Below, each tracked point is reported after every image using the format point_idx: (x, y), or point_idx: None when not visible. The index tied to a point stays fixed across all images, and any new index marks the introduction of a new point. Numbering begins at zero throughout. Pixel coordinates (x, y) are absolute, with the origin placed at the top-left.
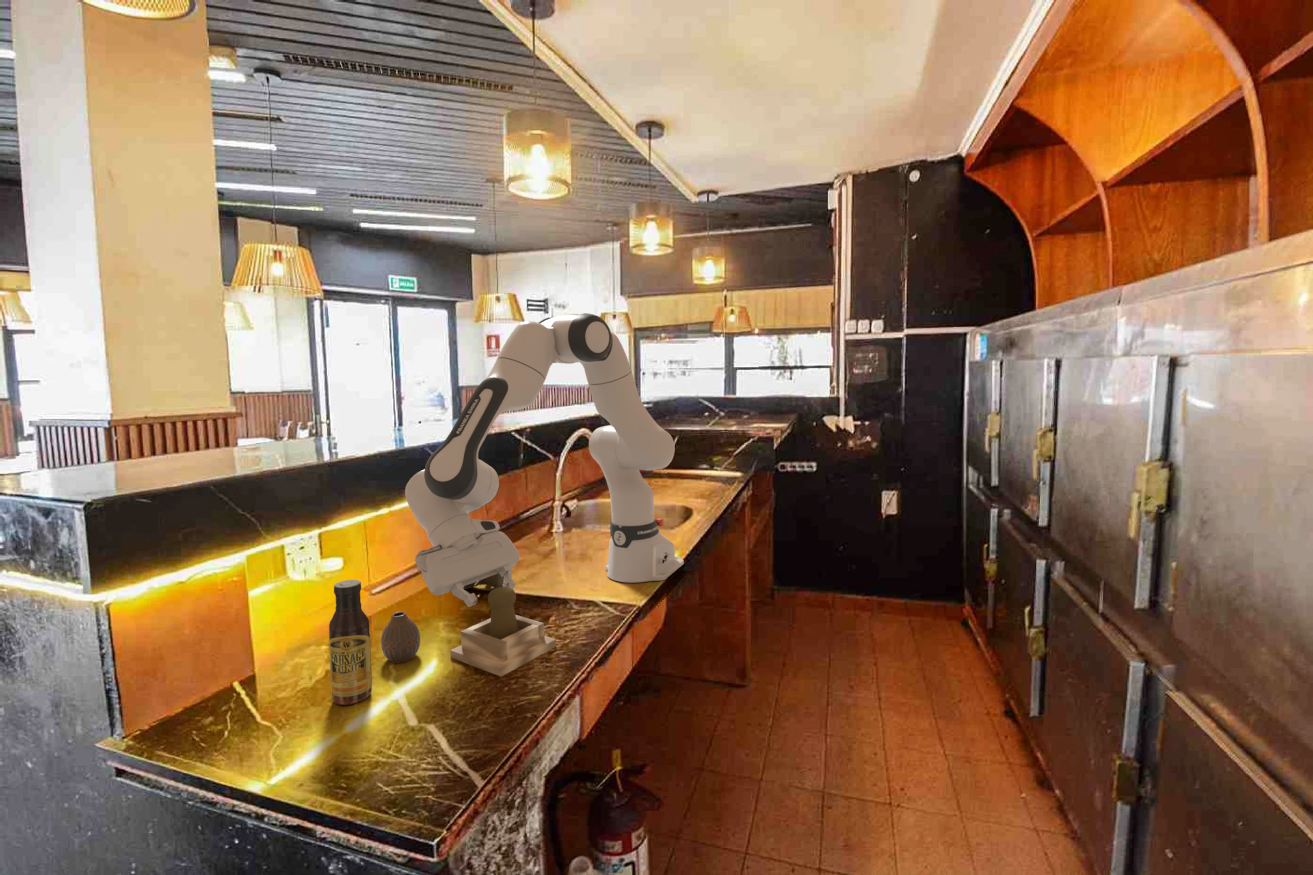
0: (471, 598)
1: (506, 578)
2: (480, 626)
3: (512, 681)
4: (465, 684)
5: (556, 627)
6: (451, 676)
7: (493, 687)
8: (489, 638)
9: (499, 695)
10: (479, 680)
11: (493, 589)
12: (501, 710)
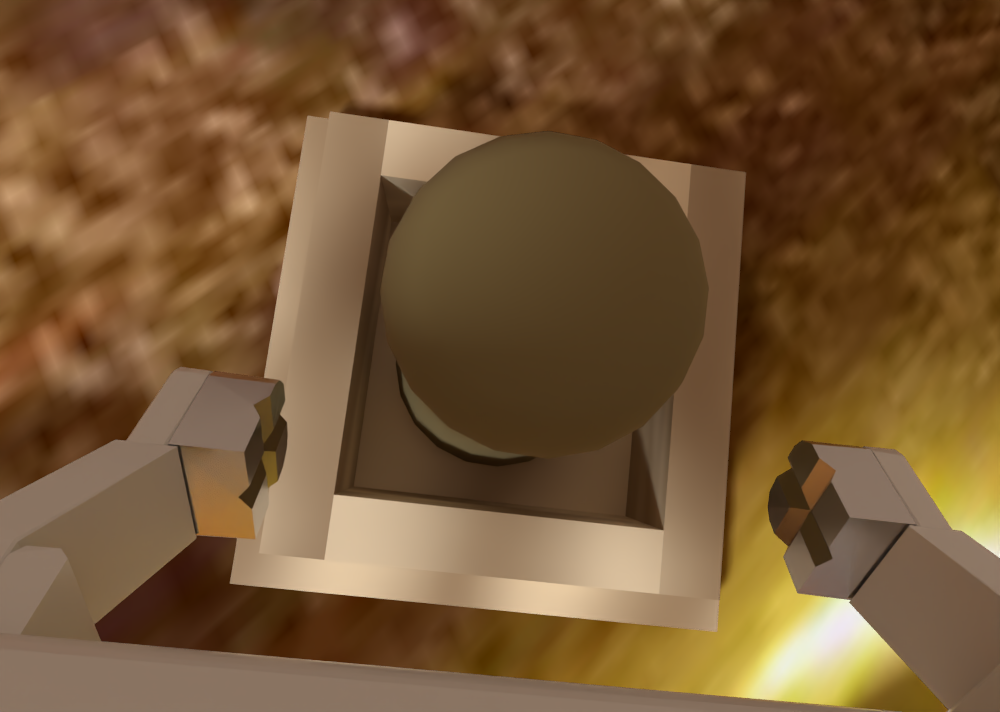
0: (893, 477)
1: (142, 534)
2: (584, 522)
3: (731, 117)
4: (863, 308)
5: (70, 295)
6: (843, 437)
7: (816, 163)
8: (709, 304)
9: (853, 91)
10: (802, 272)
11: (588, 391)
12: (933, 7)
